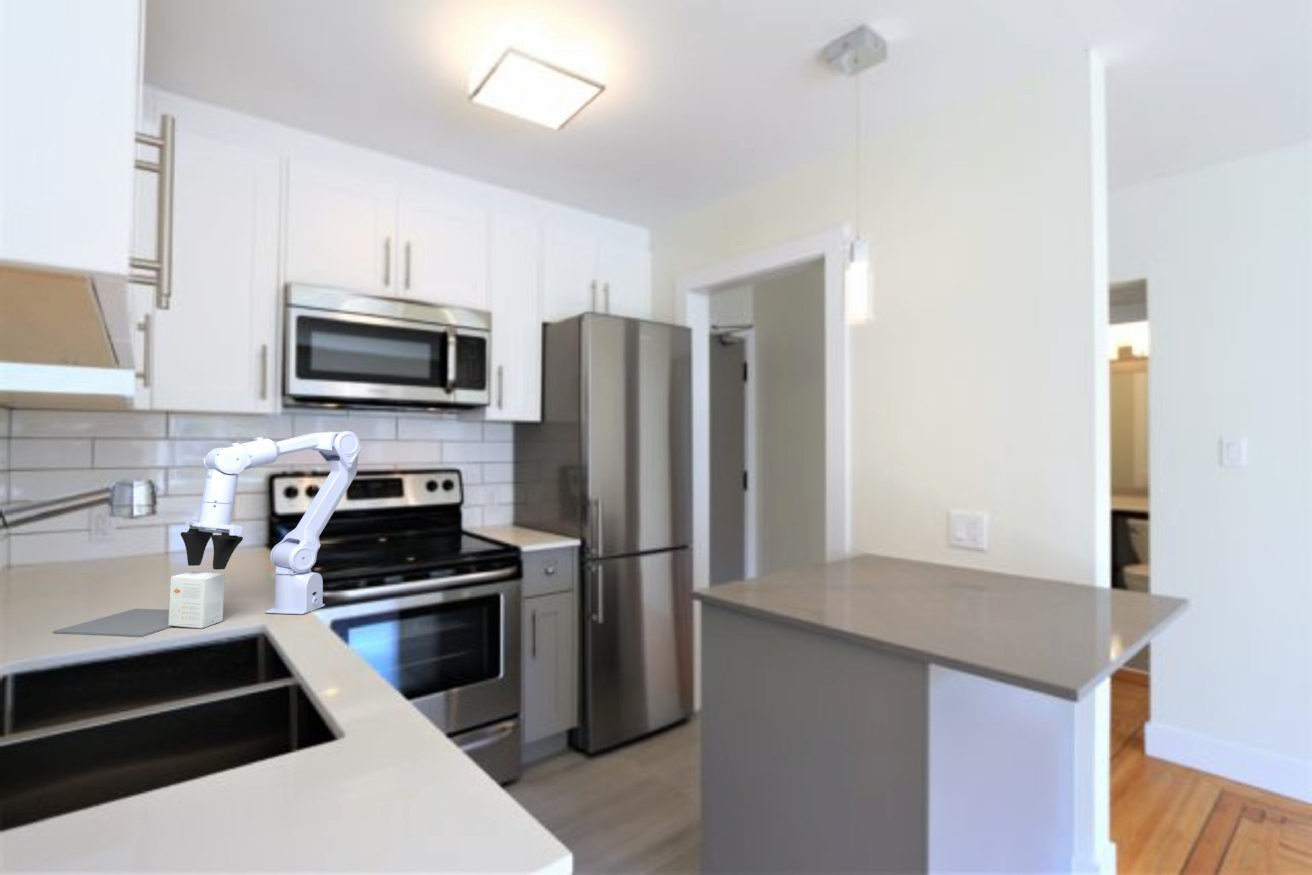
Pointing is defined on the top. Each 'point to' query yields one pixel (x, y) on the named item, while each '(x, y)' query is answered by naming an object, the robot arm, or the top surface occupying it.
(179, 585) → the small box
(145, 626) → the mat
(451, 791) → the top surface
